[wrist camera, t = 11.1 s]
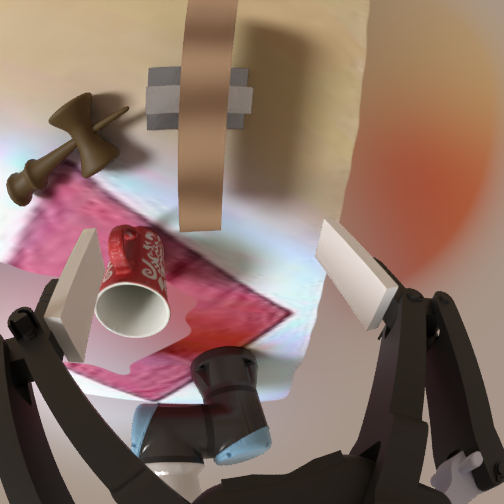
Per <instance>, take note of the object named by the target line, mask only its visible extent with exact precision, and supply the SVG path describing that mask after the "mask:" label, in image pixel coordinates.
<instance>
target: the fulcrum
mask: <svg viewBox="0 0 504 504" xmlns="http://www.w3.org/2000/svg"><path fill="white" fill-rule="evenodd" d="M248 70H249V69H243V68H231V73H230V84H229V97H228V110H227V124H226V128H231V129H243V125H244V114H251V108H252V97H253V87H247V81H248ZM180 80H181V67H157V68H149V73H148V87H146V114H147V130H159V129H178V125H179V98H180Z"/></svg>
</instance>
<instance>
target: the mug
mask: <svg viewBox="0 0 504 504" xmlns="http://www.w3.org/2000/svg"><path fill="white" fill-rule="evenodd" d="M108 251H109V256H110V262H109V264H108V267H107V270H106V272H105V275H104V278H103V281H102V284H101V287H100V290H99V293H98V297H97V301H96V305H95V309H94V312H95V315H96V317H97V319H98V320H99V321H100V323H101V324H102V325H103V326H104V327H105V328H107V329H108V330H110V331H112V332H114V333H116V334H118V335H122V336H125V337H130V338H143V337H148V336H152V335H154V334H156V333H158V332H160V331H161V330H163V329H164V328H165V326H166V325H167V324H168V322H169V320H170V316H171V311H170V306H169V303H168V299H167V288H166V278H165V264H164V248H163V243H162V241H161V239H160V237H159V236H158V235H157V234H156V233H155V232H154V231H152V230H150V229H148V228H145V227H132V226H130V225H120V226H117V227H115V228H113V229H112V231H111V233H110V236H109V240H108Z"/></svg>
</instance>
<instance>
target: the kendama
mask: <svg viewBox="0 0 504 504" xmlns="http://www.w3.org/2000/svg"><path fill="white" fill-rule="evenodd" d="M91 100H92V94H91V93H84V94H82V95H79V96H77V97H76V98H74V99H72V100H71V101H69V102H68V103H66V104H65V105H63V106H62V107H61V108H60V109H58V110H57V111H56V112H55V113H54V114H53V115H52V116H51V117H50V119H49V124H51V125H53V126H55V127H57V128H60V129H62V130H64V131H66V132H68V133H69V134H70V135H71V137H72V138H73V139H71V140H70V141H68V142H67V143H65V144H63V145H62V146H60V147H59V148H57V149H55V150H54V151H52V152H51V153H49V154H47V155H46V156H44V157H42V158H40V159H38V160H35V159H31V160H28V161H27V163H26V164H25V168H24V170H23V171H22V172H20V173H14V174H12V175H11V176H10V177H9V178H8V180H7V184H6V186H7V191H8V194H9V196H10V198H11V199H12V200H13V201H14V203H16V204H17V205H19V206H26V205H28V204H29V203H30V201H31V199H32V195H33V192H34V191H35V190H36V189H38V190H41V189H43V188H45V187H46V185H47V182H48V176H49V175H50V174H51V173H52V171H53V170H54V169H55V168H56V167H57V166H58V165H59V164H60V163H61V162H62V161H63V160H64V159H65V158H66V157H67V156H68V155H69V154H70V153H71V152H72V151H73V150H75V149H76V148H77V147H78V149H79V152H80V156H81V171H82V176H83V177H84V178H88V177H90V176H93V175H94V174H96V173H98V172H99V171H101V170H102V169H104V168H105V167H106V166H108V165H109V164H110V163H111V162H113V161H114V160H115V159H116V158H117V157H118V156H119V153H120V150H119V149H118V148H117V147H115V146H114V145H112V144H110V143H108V142H106V141H105V140H103V139H102V138H101V137H100V136H99V135H98V133H97V132H98V131H99V130H100V129H102V128H103V127H105V126H106V125H108V124H109V123H111V122H112V121H114V120H115V119H117V118H118V117H119V116H121V115H122V114H124V113H125V112H127V111H128V110H129V107H124V108H122V109H120V110H118V111H116V112H115V113H113V114H111V115H109V116H108V117H106V118H104V119H103V120H101V121H99V122H98V123H96V124H95V125H92V122H91V120H90V108H91Z"/></svg>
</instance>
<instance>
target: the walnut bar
mask: <svg viewBox="0 0 504 504" xmlns="http://www.w3.org/2000/svg"><path fill="white" fill-rule="evenodd" d="M237 4H238V0H188V6H187V14H186V23H185V32H184V42H183V53H182V65H181V80H180V98H179V125H178V197H179V226H180V232H193V231H214V230H221V215H222V192H223V173H224V155H225V139H226V124H227V110H228V97H229V84H230V73H231V62H232V51H233V41H234V31H235V22H236V13H237Z"/></svg>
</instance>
